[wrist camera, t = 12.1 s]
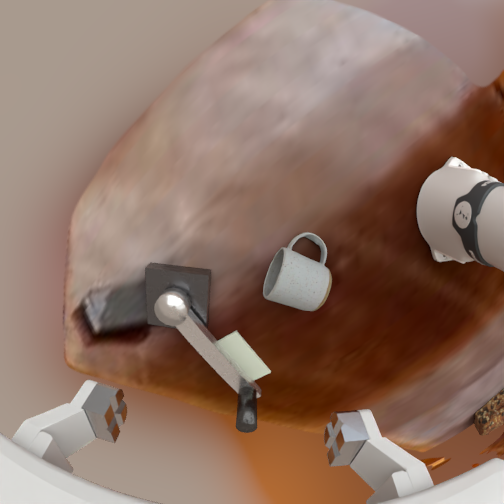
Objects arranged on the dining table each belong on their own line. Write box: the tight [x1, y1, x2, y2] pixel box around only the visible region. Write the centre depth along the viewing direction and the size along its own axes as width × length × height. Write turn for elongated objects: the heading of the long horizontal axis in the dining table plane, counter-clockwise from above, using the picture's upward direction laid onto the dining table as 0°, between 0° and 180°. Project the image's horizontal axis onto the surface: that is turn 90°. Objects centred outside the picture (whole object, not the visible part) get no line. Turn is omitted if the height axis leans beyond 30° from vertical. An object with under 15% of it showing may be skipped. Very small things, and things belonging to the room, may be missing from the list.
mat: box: [218, 330, 271, 381], centre depth 49 cm, size 11×8×1 cm
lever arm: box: [154, 288, 261, 433], centre depth 40 cm, size 24×5×10 cm, turn 34°
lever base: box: [145, 263, 211, 328], centre depth 44 cm, size 10×10×2 cm
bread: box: [474, 389, 504, 435], centre depth 53 cm, size 19×11×10 cm, turn 121°
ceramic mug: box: [263, 232, 332, 311], centre depth 40 cm, size 11×8×8 cm
